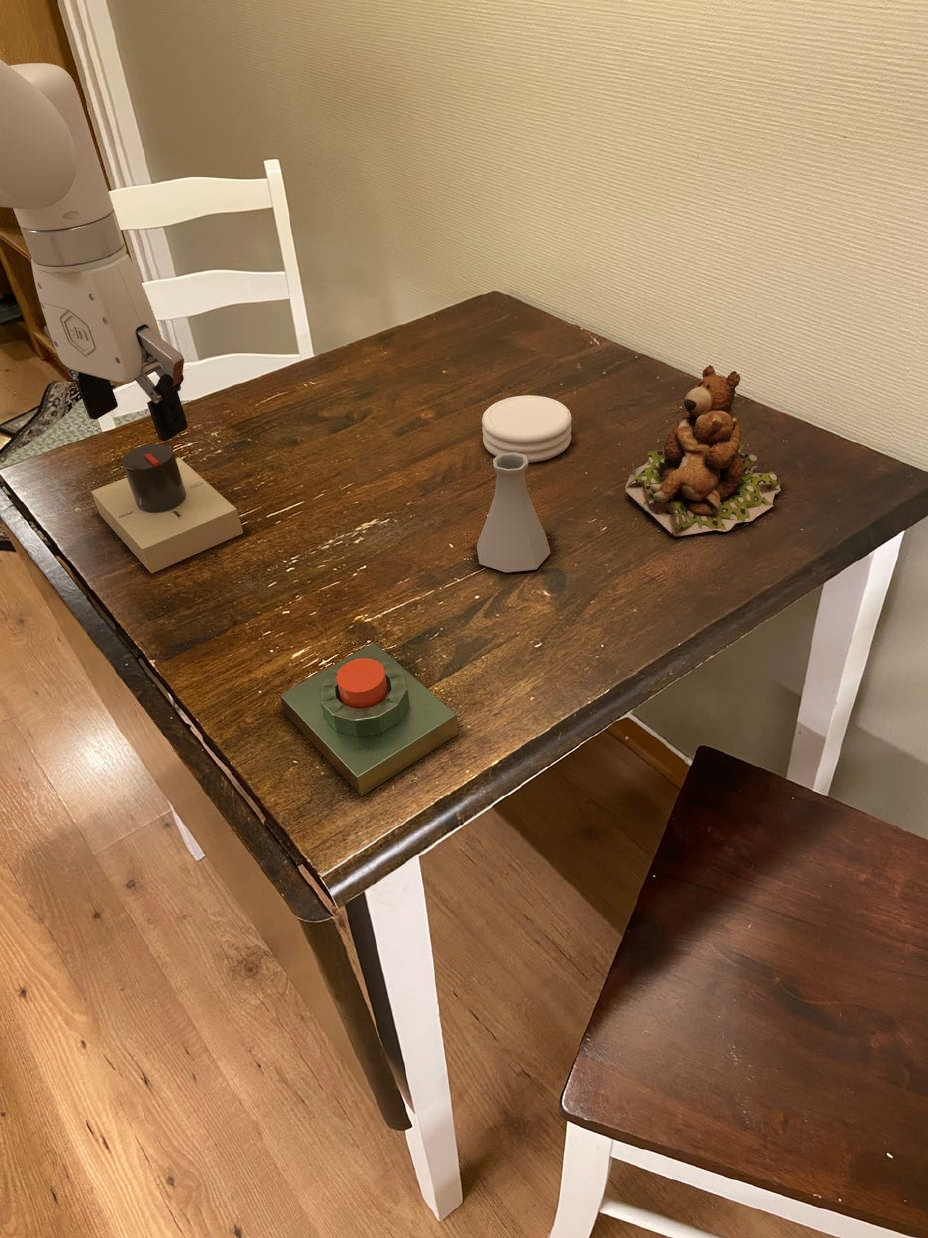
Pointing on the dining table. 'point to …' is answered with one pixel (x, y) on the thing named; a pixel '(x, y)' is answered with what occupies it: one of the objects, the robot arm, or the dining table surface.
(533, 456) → the cream round flat cylinder
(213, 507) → the panel
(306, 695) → the button block
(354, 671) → the button
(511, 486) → the flask
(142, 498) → the knob
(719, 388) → the bear figurine
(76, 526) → the dining table surface
